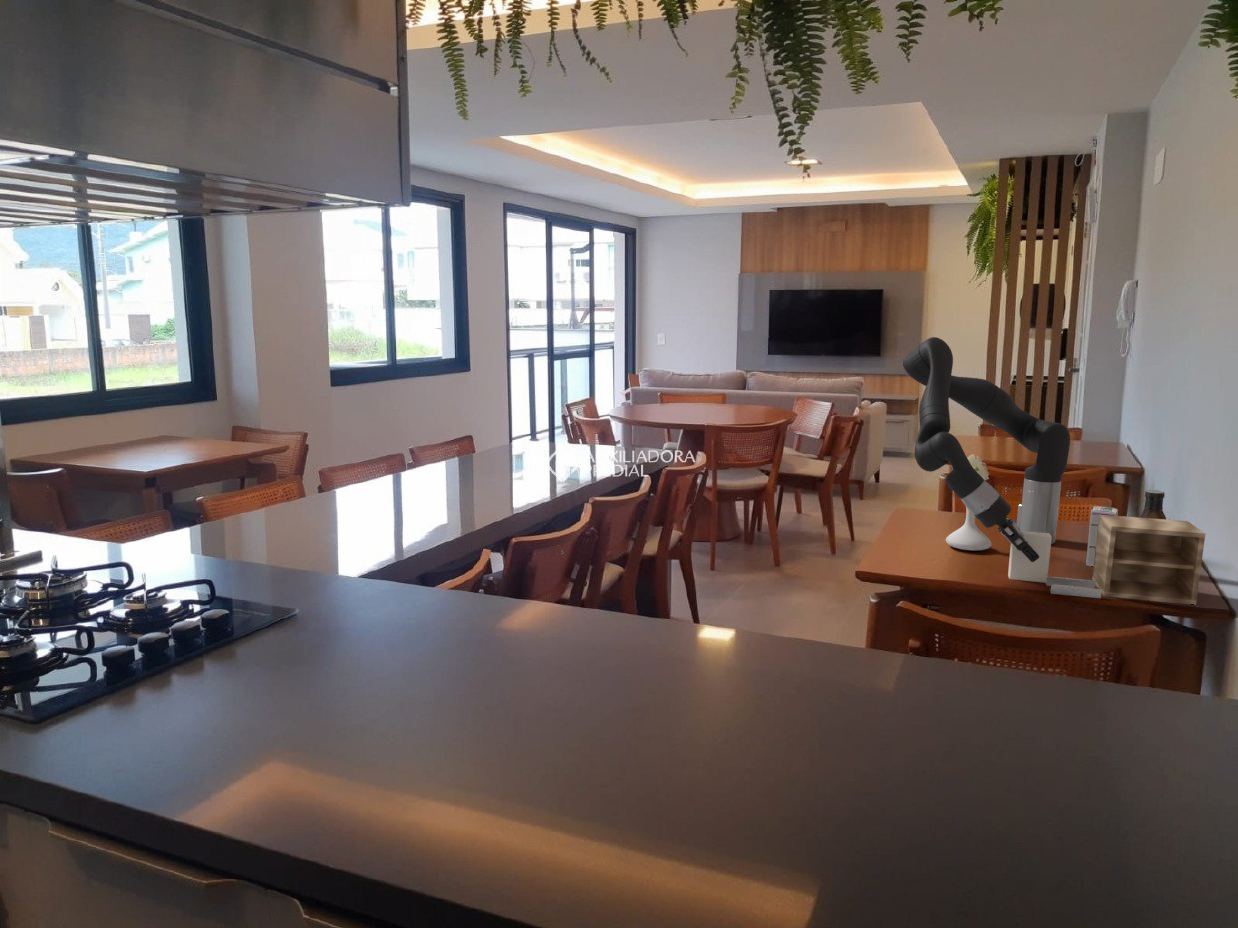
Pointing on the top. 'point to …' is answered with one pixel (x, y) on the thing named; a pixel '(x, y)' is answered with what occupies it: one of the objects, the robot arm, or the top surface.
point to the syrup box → (1096, 530)
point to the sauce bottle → (1153, 505)
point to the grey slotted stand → (1073, 587)
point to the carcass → (1148, 559)
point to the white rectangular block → (1023, 566)
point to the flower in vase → (971, 520)
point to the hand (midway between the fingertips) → (1033, 554)
